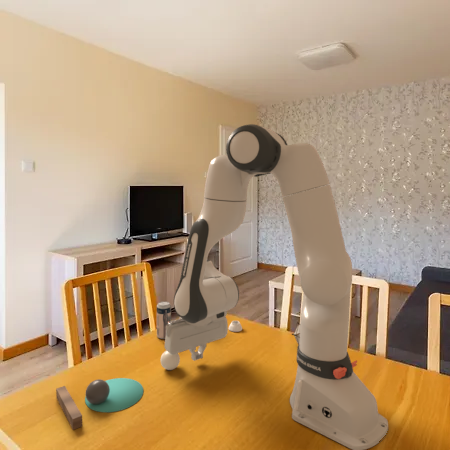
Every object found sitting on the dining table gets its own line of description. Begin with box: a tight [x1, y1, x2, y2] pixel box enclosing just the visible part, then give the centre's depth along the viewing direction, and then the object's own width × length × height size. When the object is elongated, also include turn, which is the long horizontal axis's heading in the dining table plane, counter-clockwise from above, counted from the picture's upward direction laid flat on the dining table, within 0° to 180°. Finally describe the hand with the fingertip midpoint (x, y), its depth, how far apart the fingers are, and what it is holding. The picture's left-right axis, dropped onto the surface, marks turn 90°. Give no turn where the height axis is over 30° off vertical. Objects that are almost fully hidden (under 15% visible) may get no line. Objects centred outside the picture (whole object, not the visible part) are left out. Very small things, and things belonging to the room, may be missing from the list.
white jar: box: [228, 320, 243, 333], centre depth 129 cm, size 5×3×5 cm
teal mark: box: [84, 377, 144, 413], centre depth 88 cm, size 14×14×1 cm
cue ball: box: [160, 350, 181, 371], centre depth 101 cm, size 6×6×6 cm
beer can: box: [156, 301, 172, 340], centre depth 121 cm, size 5×5×12 cm
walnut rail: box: [55, 385, 83, 431], centre depth 81 cm, size 14×2×2 cm, turn 39°
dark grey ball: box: [85, 379, 110, 405], centre depth 85 cm, size 6×6×6 cm
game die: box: [291, 321, 300, 346], centre depth 116 cm, size 9×8×10 cm
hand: (197, 358), depth 104 cm, fingers closed
